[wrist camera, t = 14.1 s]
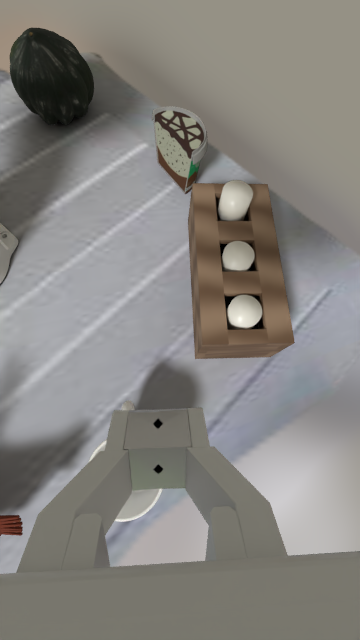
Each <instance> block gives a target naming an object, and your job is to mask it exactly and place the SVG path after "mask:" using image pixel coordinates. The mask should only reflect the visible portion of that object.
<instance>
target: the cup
mask: <svg viewBox="0 0 360 640" xmlns="http://www.w3.org/2000/svg"><path fill="white" fill-rule="evenodd" d="M122 410H135V408H134V404H133V403H132V402H131V401H126V402H124V404H123V406H122ZM106 442H107V439H106V440H105V441H104V442H102V443H101V444H100V445H99V446H98V447H97V449H96V450H95V451H94V453H93V454H92V456H91V458H90V460H89V462H90V461H91V460H92V459H93V458H94V457H95V456H96V455H97V454H98V453H99V452H100V451H105V446H106ZM89 462H88V463H89ZM161 492H162V489H148V490H135V491H132V494H131V495H130V497H129V498H128V500H127V501H126V503H125V505H124V506H123V508H122V509H121V511H120V513H119V514H118V516H117V517H116V519H115V520H114V521H130V520H134V519H136V518H139V517H141V516H142V515H144V514H145V513H147V512H148V511H149V510H150V509H151V508H152V507H153V506H154V504H155V503H156V502H157V500H158V498H159V496H160V494H161Z"/></svg>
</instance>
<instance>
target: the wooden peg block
mask: <svg viewBox="0 0 360 640" xmlns="http://www.w3.org/2000/svg"><path fill="white" fill-rule="evenodd" d="M224 185H225V184H205V183H192V192H191V200H190V209H189V217H188V229H189V249H190V268H191V287H192V306H193V326H194V345H195V359H207V358H250V357H271V356H273V355H275V354H276V353H278V352H280V351H281V350H283V349H285V348H286V347H288V346H290V345H292V344H293V343H295V342H294V336H293V331H292V325H291V319H290V313H289V307H288V301H287V295H286V290H285V284H284V278H283V272H282V266H281V260H280V254H279V249H278V243H277V237H276V231H275V225H274V219H273V214H272V208H271V202H270V196H269V190H268V185H267V184H248V185H249V186H250V187H251V188H252V191H253V197H252V200H251V202H250V205H249V207H248V210H247V212H246V215H245V217H244V220H243V221H218V219H217V210H218V206H219V202H220V198H221V194H222V190H223V187H224ZM233 241H242V242H245V243H247V244H248V245H250V246H251V247H252V249H253V251H254V255H255V257H254V260H253V262H252V264H251V271H246V272H222V265H221V254H220V244H229V243H231V242H233ZM239 295H249V296H255V299H256V300H257V301H258V302H259V303H260V305H261V307H262V316H261V318H260V320H259V321H258V324H259V329H248V330H228V329H227V318H226V308H225V297H224V296H239Z"/></svg>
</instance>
